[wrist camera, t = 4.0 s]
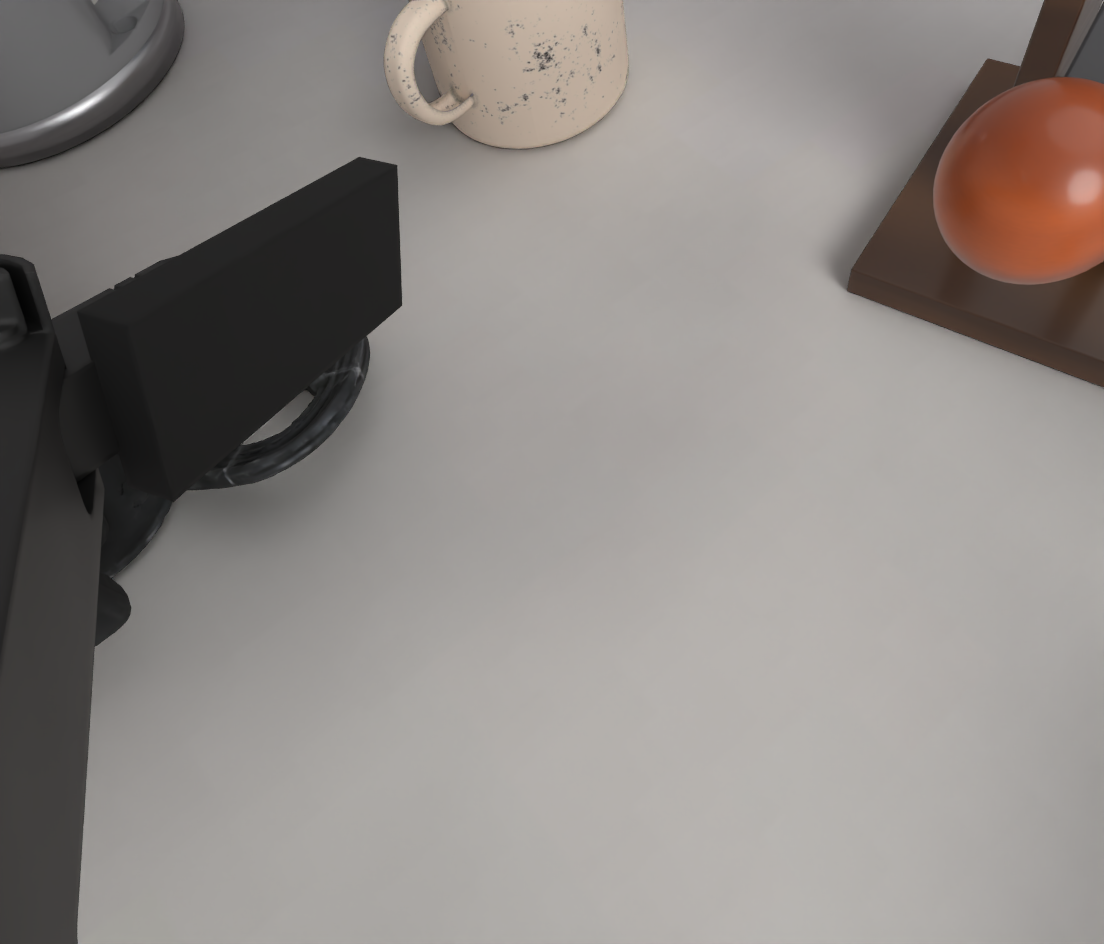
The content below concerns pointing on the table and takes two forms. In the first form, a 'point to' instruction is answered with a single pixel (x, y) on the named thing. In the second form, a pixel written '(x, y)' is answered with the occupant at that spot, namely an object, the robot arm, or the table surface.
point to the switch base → (954, 288)
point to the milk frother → (216, 479)
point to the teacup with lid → (511, 66)
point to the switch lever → (1030, 176)
